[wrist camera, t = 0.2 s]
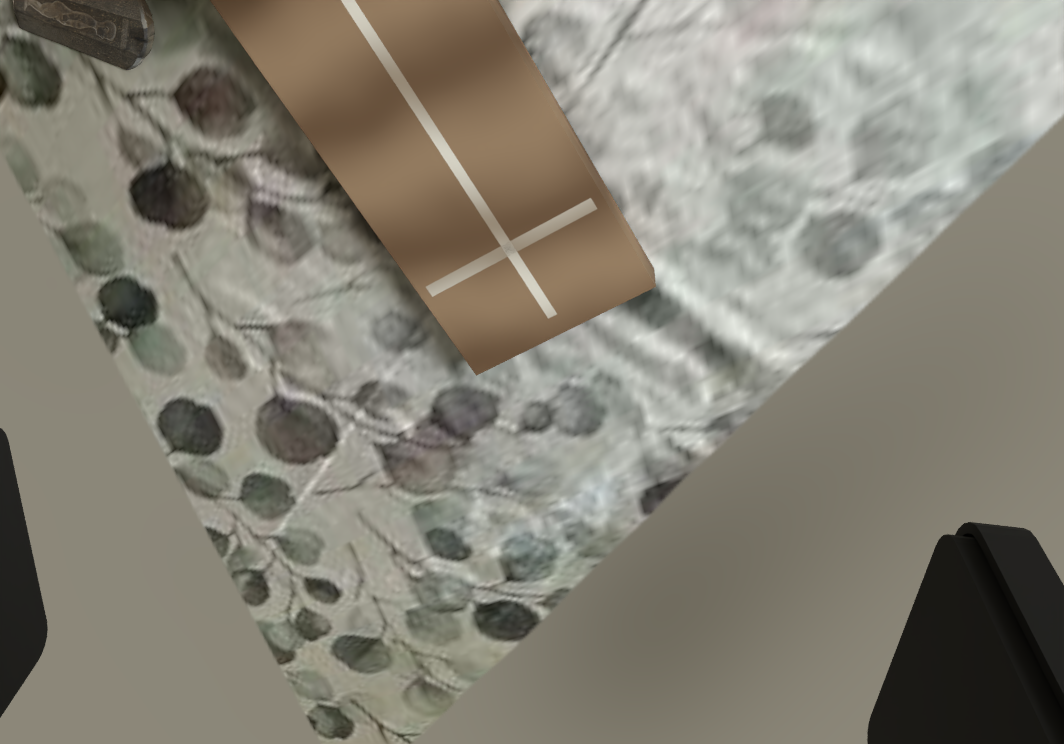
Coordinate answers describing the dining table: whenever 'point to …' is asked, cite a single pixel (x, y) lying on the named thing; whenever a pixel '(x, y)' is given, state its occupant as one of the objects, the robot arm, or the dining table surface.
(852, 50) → the dining table surface
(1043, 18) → the dining table surface
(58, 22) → the block
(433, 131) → the board
